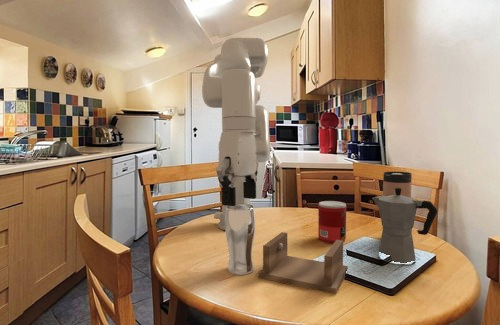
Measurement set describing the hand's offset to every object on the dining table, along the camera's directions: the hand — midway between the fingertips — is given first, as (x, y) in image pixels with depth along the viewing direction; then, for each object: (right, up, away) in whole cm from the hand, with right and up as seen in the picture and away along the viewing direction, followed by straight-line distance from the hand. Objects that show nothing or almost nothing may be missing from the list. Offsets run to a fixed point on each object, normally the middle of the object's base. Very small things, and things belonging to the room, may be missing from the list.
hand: (239, 201), depth 73 cm
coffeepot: (+40, -16, +7) cm, 43 cm away
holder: (+14, -16, -1) cm, 22 cm away
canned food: (+27, -14, +23) cm, 38 cm away
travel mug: (+46, -14, +22) cm, 53 cm away
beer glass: (0, -16, +2) cm, 16 cm away
